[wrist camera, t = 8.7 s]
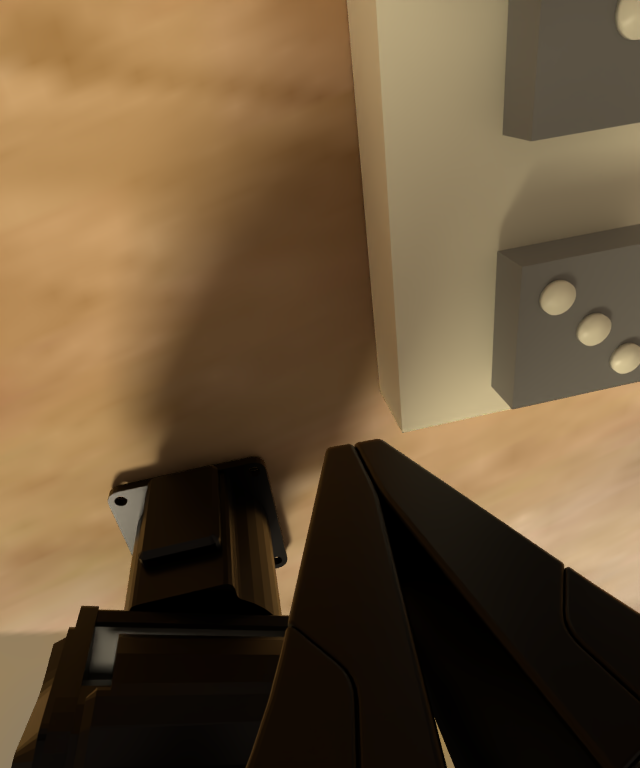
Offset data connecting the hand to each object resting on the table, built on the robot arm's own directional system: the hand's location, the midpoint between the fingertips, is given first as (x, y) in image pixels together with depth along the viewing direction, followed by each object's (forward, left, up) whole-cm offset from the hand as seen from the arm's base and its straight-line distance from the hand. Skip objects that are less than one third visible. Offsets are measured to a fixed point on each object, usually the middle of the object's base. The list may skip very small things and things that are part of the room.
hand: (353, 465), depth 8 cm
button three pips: (-3, -9, -8) cm, 12 cm away
